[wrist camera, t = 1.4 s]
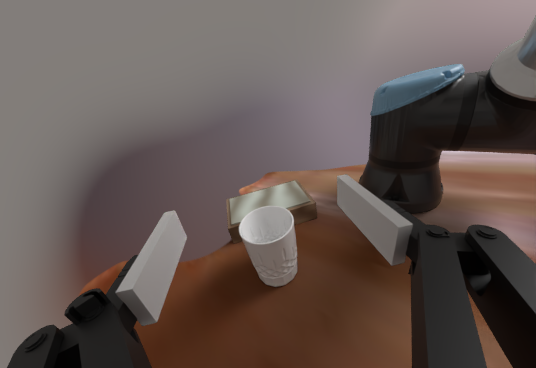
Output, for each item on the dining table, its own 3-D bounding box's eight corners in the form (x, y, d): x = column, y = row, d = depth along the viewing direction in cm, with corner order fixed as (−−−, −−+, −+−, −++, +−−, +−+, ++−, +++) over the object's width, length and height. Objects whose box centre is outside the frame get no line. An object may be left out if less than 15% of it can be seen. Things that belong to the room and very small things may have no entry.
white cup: (246, 284, 30) (228, 239, 26) (264, 245, 37) (252, 203, 32) (294, 297, 27) (284, 248, 22) (306, 252, 33) (299, 207, 29)
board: (298, 192, 50) (296, 178, 48) (317, 218, 40) (315, 201, 38) (231, 212, 48) (226, 198, 46) (233, 243, 39) (227, 227, 37)
